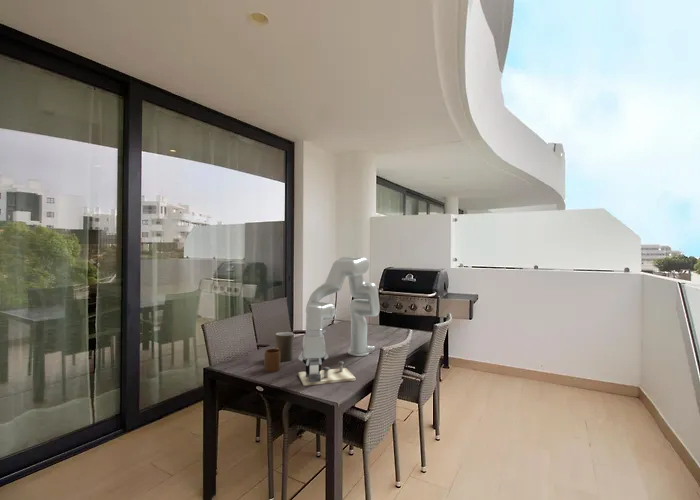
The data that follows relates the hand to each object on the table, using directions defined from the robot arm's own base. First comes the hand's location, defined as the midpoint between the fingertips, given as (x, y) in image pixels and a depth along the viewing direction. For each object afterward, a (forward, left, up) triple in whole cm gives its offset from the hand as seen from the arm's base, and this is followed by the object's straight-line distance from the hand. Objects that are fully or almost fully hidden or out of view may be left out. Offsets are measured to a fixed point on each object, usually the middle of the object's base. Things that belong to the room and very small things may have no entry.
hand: (313, 372), depth 154 cm
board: (-7, -3, -4) cm, 9 cm away
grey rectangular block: (0, 0, 0) cm, 0 cm away
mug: (+15, -22, -4) cm, 27 cm away
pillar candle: (+8, -36, -4) cm, 37 cm away
